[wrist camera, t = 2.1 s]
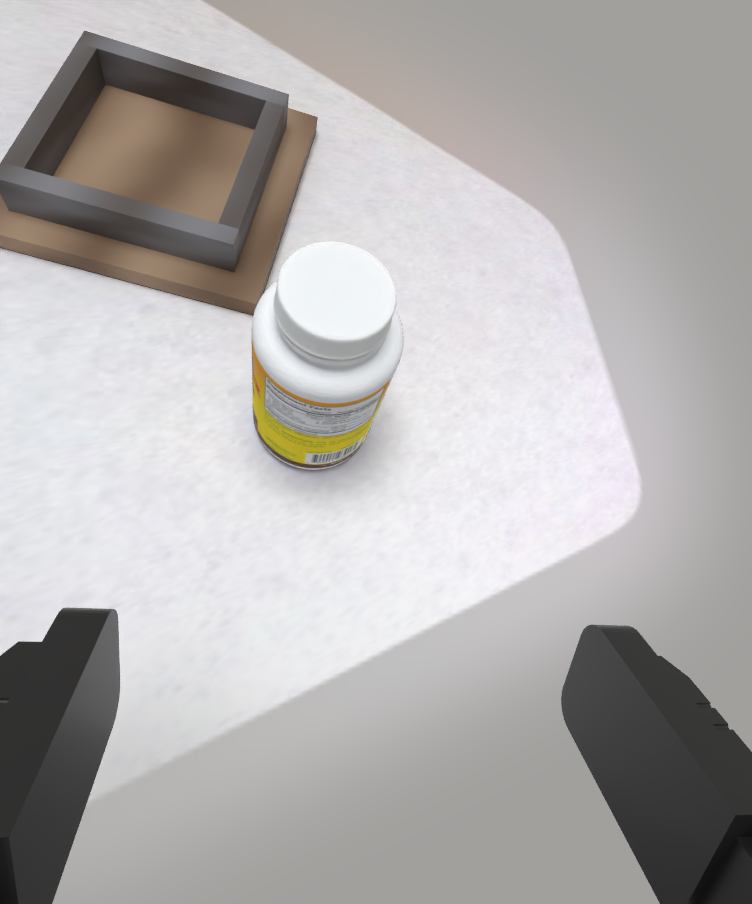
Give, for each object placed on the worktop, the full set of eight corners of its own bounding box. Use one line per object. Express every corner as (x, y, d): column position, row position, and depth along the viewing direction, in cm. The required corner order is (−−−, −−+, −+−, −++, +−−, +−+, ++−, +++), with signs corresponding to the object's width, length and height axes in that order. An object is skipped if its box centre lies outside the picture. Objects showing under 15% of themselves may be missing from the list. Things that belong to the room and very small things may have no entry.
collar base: (-29, 239, 28) (-60, 191, 25) (81, 60, 34) (66, 4, 31) (256, 316, 30) (256, 278, 27) (315, 131, 35) (321, 85, 32)
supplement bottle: (293, 351, 29) (311, 194, 20) (386, 407, 29) (449, 275, 20) (228, 434, 27) (214, 300, 18) (329, 496, 27) (370, 394, 17)
